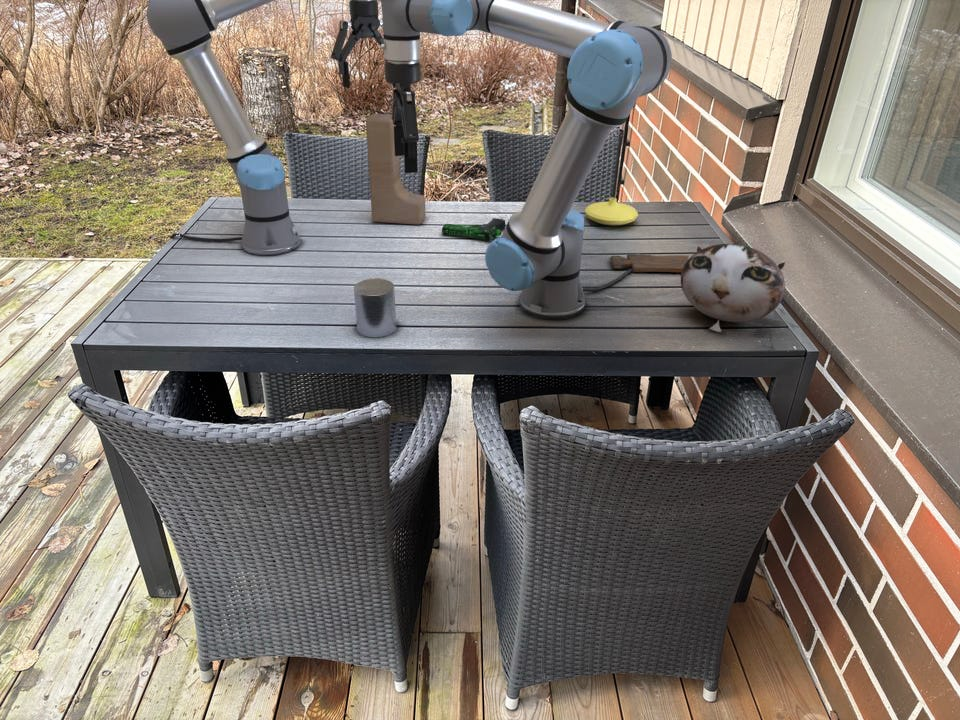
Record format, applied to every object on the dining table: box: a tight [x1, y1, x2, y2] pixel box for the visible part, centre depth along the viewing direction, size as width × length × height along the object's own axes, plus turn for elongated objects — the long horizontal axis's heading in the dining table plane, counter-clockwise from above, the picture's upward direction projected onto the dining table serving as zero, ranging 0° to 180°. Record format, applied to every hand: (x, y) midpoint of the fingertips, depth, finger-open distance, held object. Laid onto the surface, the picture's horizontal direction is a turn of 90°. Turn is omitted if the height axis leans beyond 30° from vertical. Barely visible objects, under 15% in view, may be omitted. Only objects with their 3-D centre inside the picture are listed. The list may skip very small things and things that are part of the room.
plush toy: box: [680, 243, 786, 333], centre depth 158 cm, size 22×18×20 cm
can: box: [353, 278, 397, 338], centre depth 154 cm, size 8×8×10 cm
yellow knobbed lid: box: [584, 197, 639, 227], centre depth 215 cm, size 16×16×7 cm
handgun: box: [441, 217, 507, 242], centre depth 207 cm, size 16×3×15 cm
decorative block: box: [365, 113, 426, 226], centre depth 208 cm, size 8×15×30 cm, turn 82°
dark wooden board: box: [609, 253, 690, 274], centre depth 188 cm, size 26×2×10 cm
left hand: (368, 85), depth 198 cm, fingers open, 13 cm apart
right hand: (405, 163), depth 159 cm, fingers open, 13 cm apart
